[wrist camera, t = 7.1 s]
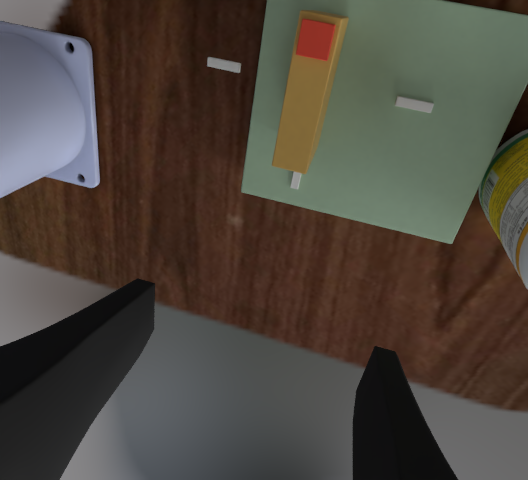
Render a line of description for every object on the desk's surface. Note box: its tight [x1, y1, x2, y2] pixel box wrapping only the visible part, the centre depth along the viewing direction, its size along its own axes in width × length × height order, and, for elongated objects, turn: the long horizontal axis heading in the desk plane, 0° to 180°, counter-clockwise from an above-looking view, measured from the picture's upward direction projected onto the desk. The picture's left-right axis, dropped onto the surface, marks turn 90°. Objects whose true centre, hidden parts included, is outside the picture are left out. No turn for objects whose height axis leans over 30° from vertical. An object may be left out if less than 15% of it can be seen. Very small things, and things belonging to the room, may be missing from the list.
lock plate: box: [207, 0, 528, 244], centre depth 17 cm, size 12×10×3 cm
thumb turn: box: [272, 10, 349, 174], centre depth 15 cm, size 5×1×4 cm, turn 170°
